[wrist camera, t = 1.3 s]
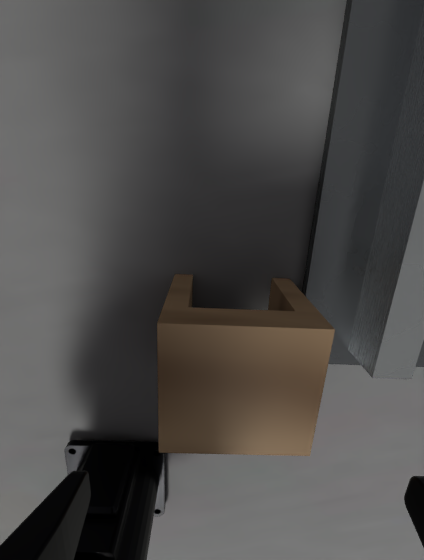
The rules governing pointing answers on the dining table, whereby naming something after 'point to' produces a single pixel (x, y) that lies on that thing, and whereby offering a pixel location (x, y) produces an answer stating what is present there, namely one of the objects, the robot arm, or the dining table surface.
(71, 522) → the robot arm
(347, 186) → the rail
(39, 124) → the dining table surface
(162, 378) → the walnut clip
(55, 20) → the dining table surface
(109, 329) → the dining table surface
